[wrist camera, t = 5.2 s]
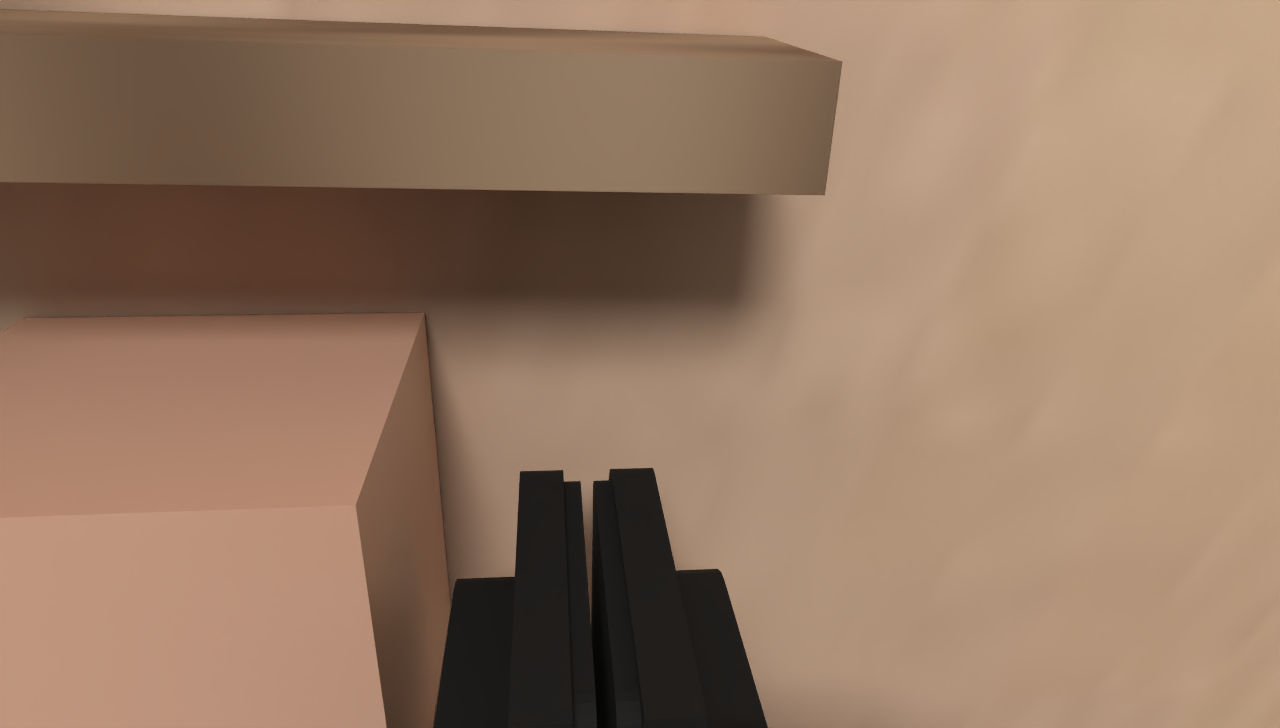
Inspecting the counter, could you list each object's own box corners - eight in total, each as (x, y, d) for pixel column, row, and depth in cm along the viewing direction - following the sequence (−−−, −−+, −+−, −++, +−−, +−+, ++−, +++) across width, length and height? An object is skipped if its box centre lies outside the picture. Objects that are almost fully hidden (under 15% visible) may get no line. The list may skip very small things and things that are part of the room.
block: (424, 312, 11) (355, 504, 7) (450, 607, 13) (408, 885, 9) (24, 318, 11) (-288, 528, 7) (116, 623, 13) (-82, 923, 9)
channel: (765, 36, 10) (842, 61, 8) (679, 944, 18) (703, 1119, 15) (-261, 0, 9) (-601, 14, 6) (106, 988, 16) (19, 1189, 14)
